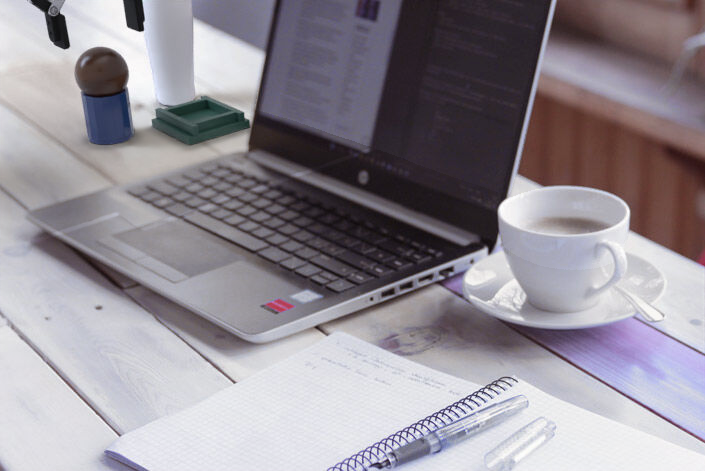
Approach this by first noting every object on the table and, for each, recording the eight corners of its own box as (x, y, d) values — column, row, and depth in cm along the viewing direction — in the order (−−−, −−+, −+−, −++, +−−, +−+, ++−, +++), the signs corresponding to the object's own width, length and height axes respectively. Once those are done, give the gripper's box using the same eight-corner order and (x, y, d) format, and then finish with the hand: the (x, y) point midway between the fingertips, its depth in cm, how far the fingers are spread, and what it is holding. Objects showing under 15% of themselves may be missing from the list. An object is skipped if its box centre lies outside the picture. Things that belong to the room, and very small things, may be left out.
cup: (101, 148, 115) (94, 101, 113) (80, 136, 119) (72, 90, 116) (142, 136, 118) (136, 90, 116) (120, 125, 122) (114, 80, 120)
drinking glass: (171, 112, 126) (158, -1, 119) (141, 101, 130) (126, -9, 123) (211, 99, 130) (201, -11, 124) (180, 89, 135) (168, -18, 128)
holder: (189, 145, 115) (187, 128, 114) (152, 126, 122) (149, 110, 121) (250, 127, 121) (249, 110, 120) (211, 109, 127) (209, 93, 126)
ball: (93, 111, 113) (85, 58, 110) (69, 98, 117) (61, 47, 114) (141, 99, 116) (135, 47, 113) (116, 87, 121) (109, 37, 118)
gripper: (128, -125, 113) (148, 18, 121) (-15, -107, 103) (17, 47, 111) (160, -120, 108) (178, 29, 116) (13, -101, 98) (44, 60, 106)
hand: (99, 38), depth 113 cm, fingers open, 9 cm apart
